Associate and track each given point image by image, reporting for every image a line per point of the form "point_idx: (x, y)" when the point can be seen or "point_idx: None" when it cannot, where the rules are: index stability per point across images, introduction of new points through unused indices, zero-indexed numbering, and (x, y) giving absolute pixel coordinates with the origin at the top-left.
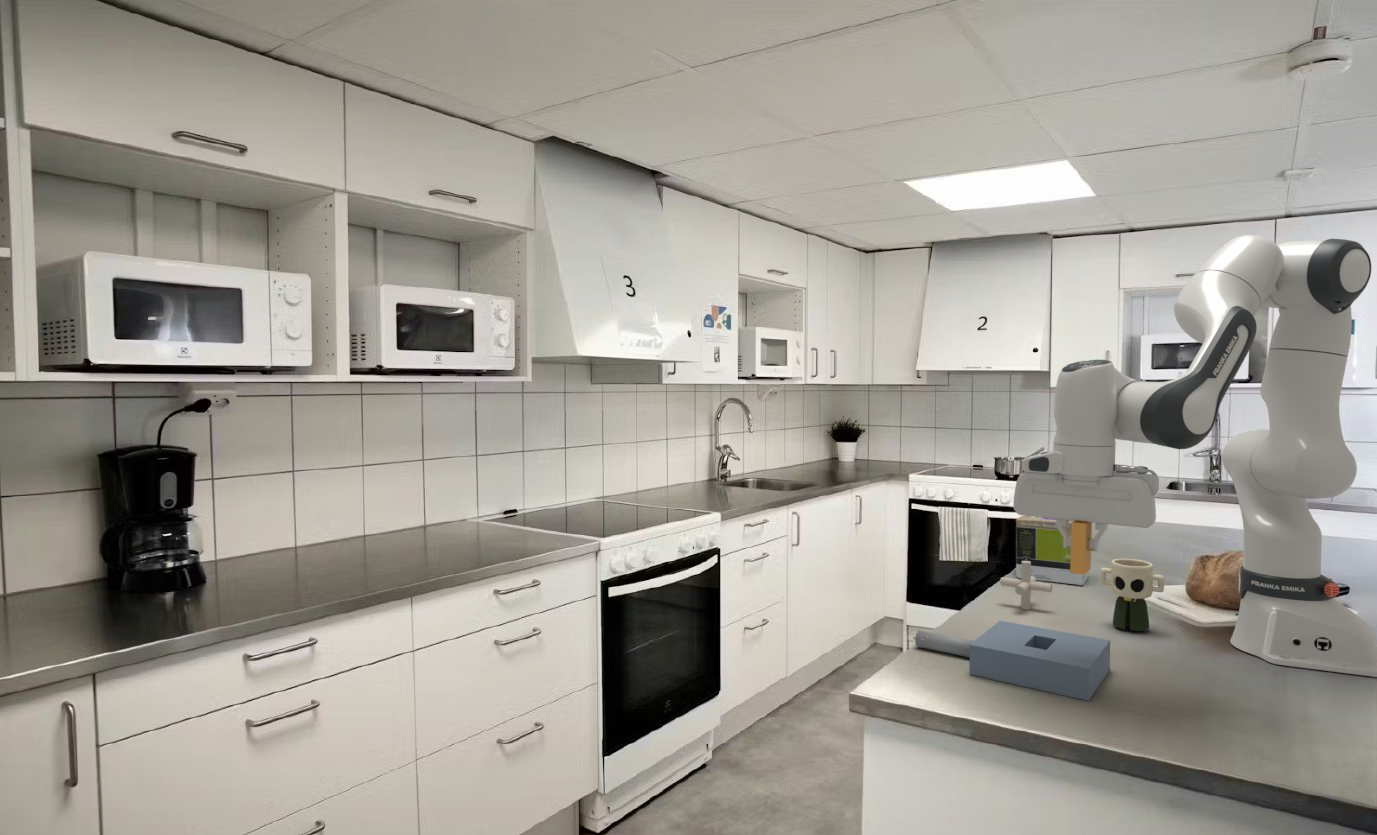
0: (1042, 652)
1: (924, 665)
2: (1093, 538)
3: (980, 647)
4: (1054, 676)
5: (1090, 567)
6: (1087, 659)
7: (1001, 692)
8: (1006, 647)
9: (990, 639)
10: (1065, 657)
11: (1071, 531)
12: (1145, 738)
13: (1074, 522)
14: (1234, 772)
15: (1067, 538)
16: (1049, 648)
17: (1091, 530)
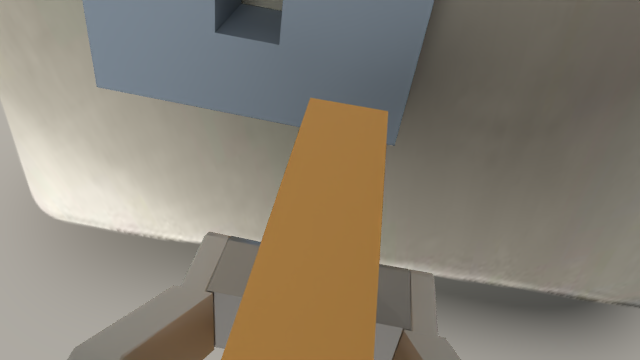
0: (273, 72)
1: (30, 38)
2: (392, 336)
3: (125, 91)
4: None
5: (387, 118)
6: (391, 80)
7: (226, 127)
8: (180, 70)
9: (118, 16)
10: (334, 87)
11: None
12: (483, 227)
13: None
14: (593, 287)
15: (216, 340)
16: (284, 27)
17: (374, 319)
